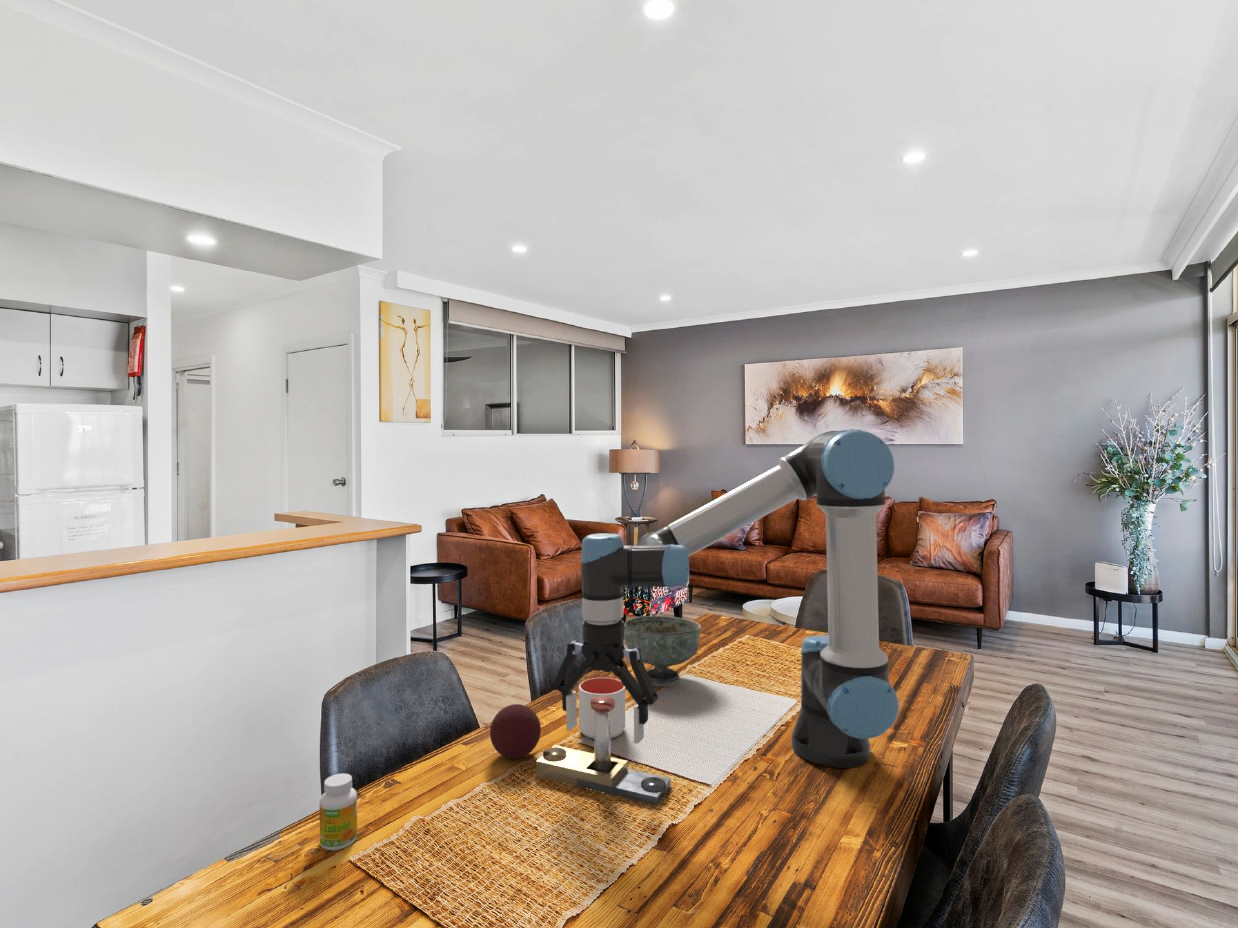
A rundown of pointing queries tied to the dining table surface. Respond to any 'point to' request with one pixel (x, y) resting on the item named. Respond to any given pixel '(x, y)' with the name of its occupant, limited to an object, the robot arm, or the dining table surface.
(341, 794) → the supplement bottle
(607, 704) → the pin
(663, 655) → the bowl
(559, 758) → the chain ends
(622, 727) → the cup
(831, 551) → the robot arm
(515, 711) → the decorative ball
